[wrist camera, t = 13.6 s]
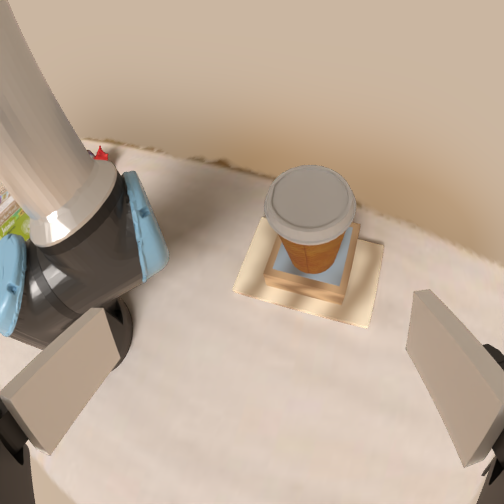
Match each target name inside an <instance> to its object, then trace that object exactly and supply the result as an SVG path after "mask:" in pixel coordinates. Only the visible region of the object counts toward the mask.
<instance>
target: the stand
mask: <svg viewBox="0 0 504 504" xmlns="http://www.w3.org/2000/svg"><path fill="white" fill-rule="evenodd" d="M360 225H361V224H357V223H353V222H352V223H351V224H350V226H349V227H348V229H347V230H346V232H345V234H344V237H343V240H342V243H341V245H340V248H339V251H338V253H337V256H336V259H335V261H334V263H333V265H332V266H331V267H330V268H329V269H327V270H326V271H324V272H322V273H318V274H308V273H304V272H302V271H300V270H298V269H297V268H296V267H295V266H294V265H293V264H292V262H291V260H290V257H289V255H288V253H287V251H286V249H285V247H284V245H283V243H282V241H281V239H280V237H279V235H278V233H276V232H275V231H274V230H273V228H272V227H271V226H270V225H269V223H268V221H267V219H266V218H265V217H261V220H260V222H259V224H258V227H257V229H256V232H255V234H254V237H253V239H252V242H251V244H250V247H249V249H248V252H247V254H246V257H245V259H244V262H243V264H242V266H241V269H240V271H239V274H238V276H237V279H236V281H235V284H234V286H233V289H232V290H233V291H234V292H235V293H238V294H242V295H245V296H248V297H252V298H255V299H259V300H262V301H266V302H269V303H273V304H276V305H280V306H283V307H287V308H290V309H294V310H297V311H301V312H305V313H308V314H312V315H316V316H320V317H323V318H327V319H331V320H335V321H339V322H342V323H346V324H350V325H354V326H358V327H362V328H366V329H367V328H368V327H369V323H370V318H371V314H372V309H373V305H374V300H375V295H376V290H377V284H378V279H379V273H380V268H381V262H382V255H383V249H384V245H380V244H376V243H372V242H368V241H364V240H360V239H358V235H359V230H360Z"/></svg>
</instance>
